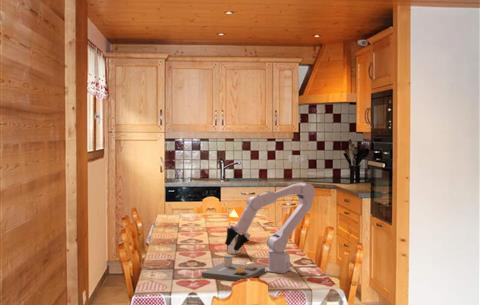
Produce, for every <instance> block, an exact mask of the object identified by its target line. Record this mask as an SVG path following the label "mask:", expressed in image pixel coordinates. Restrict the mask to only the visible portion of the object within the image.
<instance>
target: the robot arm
mask: <svg viewBox="0 0 480 305" xmlns="http://www.w3.org/2000/svg"><path fill="white" fill-rule="evenodd" d="M293 194H294V195H296V196H297V197H298V202H299V204H298V205H297V207H296V208H295V209H294V210H293V211H292V213H291V215H290V216H289V217H288V218H287V219H286V220H285V222H284V224H283V225H281V227H280V228H279V230H277V231H275V232H274V233H273V234H272V235H269V237H268V238H267V240H266V244H267V247H268V268H267V269H265V272H270V273H278V274H286V273H287V272H289V271H290V270H291V266H290V265H291V264H290V263H291V261H290V259H291V257H290V253H289V252H287V251H286V252H285V250H286V248H287V244H288V243H289V239H290V236H291V234H292V233H293V232H294V230H295V229H296V228H297V226H298V225H299V224H300V223H301V222H302V220H303V219H304V217H305V216H306V215H307V213H308V212H309V211H310V210H311V208H312V207H313V202H314V197H315V195H316V191H315V187H314V185H313V184H311V183H305V182H303V181H301V182H300V181H299V182H297V183H293V184H291V185H289V186H286V187H283V188H281V189H279V190H277V191H274V190H269V189H267V190H266V192H263V193H261V194H260V193H258V194H257V193H256V196H254V195H253V196H250V197H249V198H248V199H247V200H246V206H245V208H243V209H244V211H243V213H242V215H241V217H240V219H239V220H238V222H237V224H236V226H234V225H232V224H231V225H230V227H229V228H230V229H229V228H228V229H227V228H226V237H225V238H226V239H225V243H224V244H225V245H226V246H227V245H228V246H229V245H230V244H231V242H232V240H233V239H234V238H235V237H236V236H237V235H238V238H237V242H236V244H235V246H234V250H236V251H238V250H239V249H240V248H241V247H243V246H244V244H246V243H247V242H249V241H250V238H251V234H250V233H249V232H248V233H247V230H249V228H250V226H251V225H252V223H253V221H254V219H255V217H256V215H257V213H258V211H260V210H262V209H263V207H266V206H269V205H271V204H275V203H276V202H277V200H278V199H280V198H283V197H286V196H290V195H293ZM237 230H238V231H241V233H240V232H238V231H237ZM237 232H238V233H237ZM239 233H240V234H239ZM242 233H243V234H242ZM241 234H242V235H241ZM241 249H242V248H241Z"/></svg>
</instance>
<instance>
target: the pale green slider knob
mask: <svg viewBox="0 0 480 305" xmlns="http://www.w3.org/2000/svg"><path fill="white" fill-rule="evenodd" d="M223 260H224V261H223V263H224V266H226V267H232V264H233V255H224V256H223Z"/></svg>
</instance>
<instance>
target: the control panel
mask: <svg viewBox="0 0 480 305" xmlns="http://www.w3.org/2000/svg"><path fill="white" fill-rule="evenodd" d="M236 267H245V275H236ZM265 270H266V267H264V266H256V265H255V270H247V269H246V264H239V263H232V267H226V266H224V262H221V263H219V264H217V265H215V266H213V267H210V268H207V269H206V270H204V271H202V272H201V277H202V278H210V279H217V280H225V281H234V282H238V281H237V280H240V279H246V278H250V277H255V278H256V277H257V276H260V275H261V274H264V273H265V272H266V271H265Z"/></svg>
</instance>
